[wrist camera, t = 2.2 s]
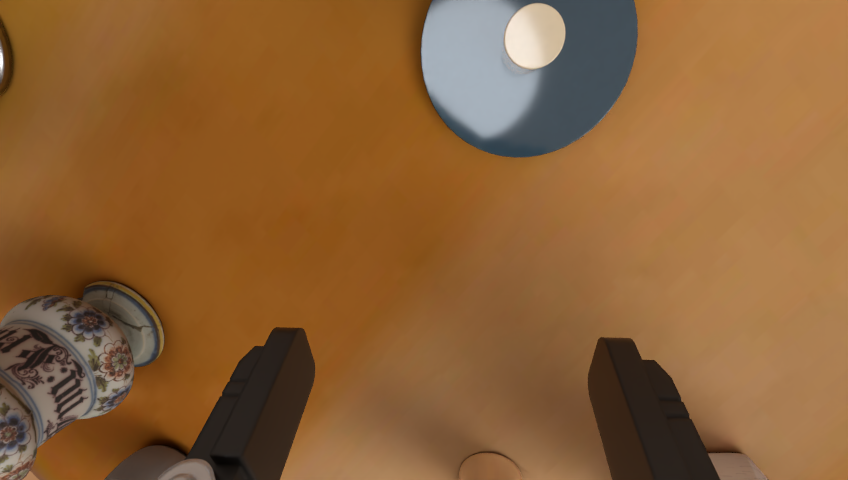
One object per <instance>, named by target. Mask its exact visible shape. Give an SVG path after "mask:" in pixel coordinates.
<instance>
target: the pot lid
mask: <svg viewBox="0 0 848 480" xmlns="http://www.w3.org/2000/svg"><path fill="white" fill-rule="evenodd" d="M637 37H638V29H637V14H636V8H635V3H634V0H432V2H431V4H430V6H429V9H428V12H427V15H426V18H425V22H424V27H423V32H422V38H421V67H422V73H423V79H424V82H425V86H426V89H427V92H428V95H429V97H430V99H431V102H432V104H433V106H434V108H435V109H436V111H437V113H438V114H439V116H440V117H441V118H442V120H443V121H444V122H445V123H446V125H447V126H448V127H449V128H450V129H451V130H452V131H453V132H454V133H455V134H456V135H457V136H459V137H460V138H461V139H463V140H464V141H465V142H467V143H469V144H470V145H472V146H474V147H476V148H478V149H480V150H483V151H485V152H488V153H491V154H495V155H499V156H506V157H532V156H538V155H543V154H546V153H550V152H553V151H556V150H558V149H561V148H563V147H565V146H567V145H569V144H571V143H573V142H574V141H576V140H578V139H579V138H581V137H582V136H584V135H585V134H586V133H588V132H589V131H590V130H591V129H592V128H594V127H595V126H596V125H597V124H598V123H599V122H600V121H601V120H602V119H603V118H604V116H605V115H606V114H607V113H608V112H609V111H610V109H611V108H612V107H613V105H614V104H615V102H616V101H617V99H618V98H619V96H620V94H621V92H622V90H623V88H624V86H625V84H626V82H627V80H628V77H629V74H630V72H631V69H632V66H633V62H634V57H635V53H636V46H637Z"/></svg>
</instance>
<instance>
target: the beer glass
mask: <svg viewBox="0 0 848 480" xmlns="http://www.w3.org/2000/svg"><path fill="white" fill-rule="evenodd" d="M459 480H522V476H521V473H520V471H519V469H518V467H517V466H516V465H515V464H514V463H513V462H512V461H511V460H509V459H508V458H506V457H504V456H502V455H499V454H495V453H478V454H475V455H472V456H470V457H469V458H467V459H466V460H465V461H464V462H463V463H462V465H461V467H460V471H459Z"/></svg>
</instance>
